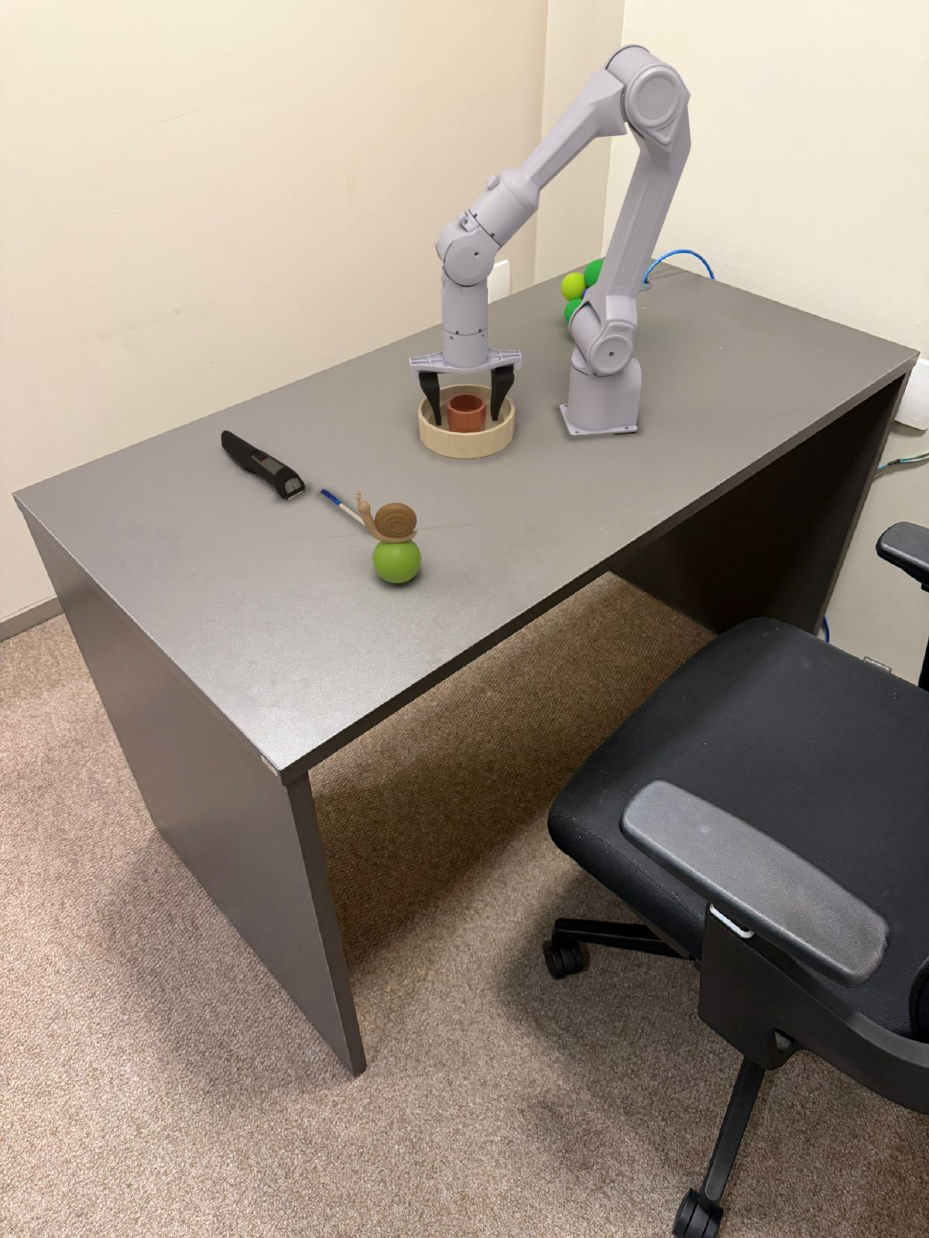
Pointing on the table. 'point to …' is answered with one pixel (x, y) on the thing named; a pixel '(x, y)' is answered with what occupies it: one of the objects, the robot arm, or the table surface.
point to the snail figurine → (392, 540)
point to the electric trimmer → (263, 465)
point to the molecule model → (579, 286)
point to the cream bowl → (466, 443)
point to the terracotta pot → (466, 413)
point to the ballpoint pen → (341, 505)
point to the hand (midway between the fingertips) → (466, 419)
